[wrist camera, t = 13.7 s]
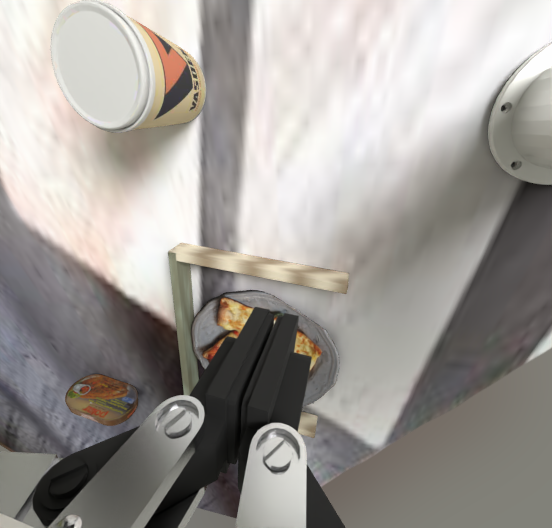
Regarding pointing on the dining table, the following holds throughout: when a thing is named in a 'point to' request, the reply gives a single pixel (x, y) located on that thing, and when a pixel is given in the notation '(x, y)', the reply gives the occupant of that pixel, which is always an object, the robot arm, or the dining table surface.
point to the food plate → (310, 336)
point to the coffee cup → (123, 70)
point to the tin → (102, 399)
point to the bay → (245, 265)
